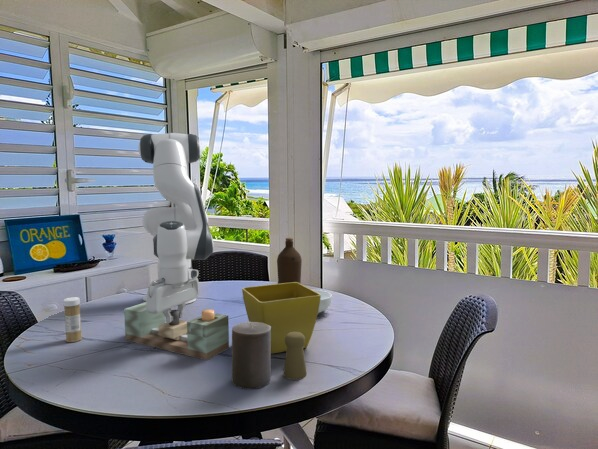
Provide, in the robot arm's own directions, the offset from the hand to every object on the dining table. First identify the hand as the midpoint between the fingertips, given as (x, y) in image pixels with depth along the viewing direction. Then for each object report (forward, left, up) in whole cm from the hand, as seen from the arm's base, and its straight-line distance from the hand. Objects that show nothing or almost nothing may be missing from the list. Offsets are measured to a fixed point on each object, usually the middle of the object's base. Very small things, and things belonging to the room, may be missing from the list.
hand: (174, 319), depth 134 cm
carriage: (0, 0, -5) cm, 5 cm away
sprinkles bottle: (-30, -13, -8) cm, 34 cm away
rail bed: (0, 0, -8) cm, 8 cm away
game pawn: (+43, -1, -8) cm, 44 cm away
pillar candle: (+35, -9, -8) cm, 37 cm away
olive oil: (+3, +66, -8) cm, 67 cm away
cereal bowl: (+22, +48, -8) cm, 53 cm away
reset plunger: (+13, 0, +1) cm, 13 cm away
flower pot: (+29, +15, -8) cm, 33 cm away
